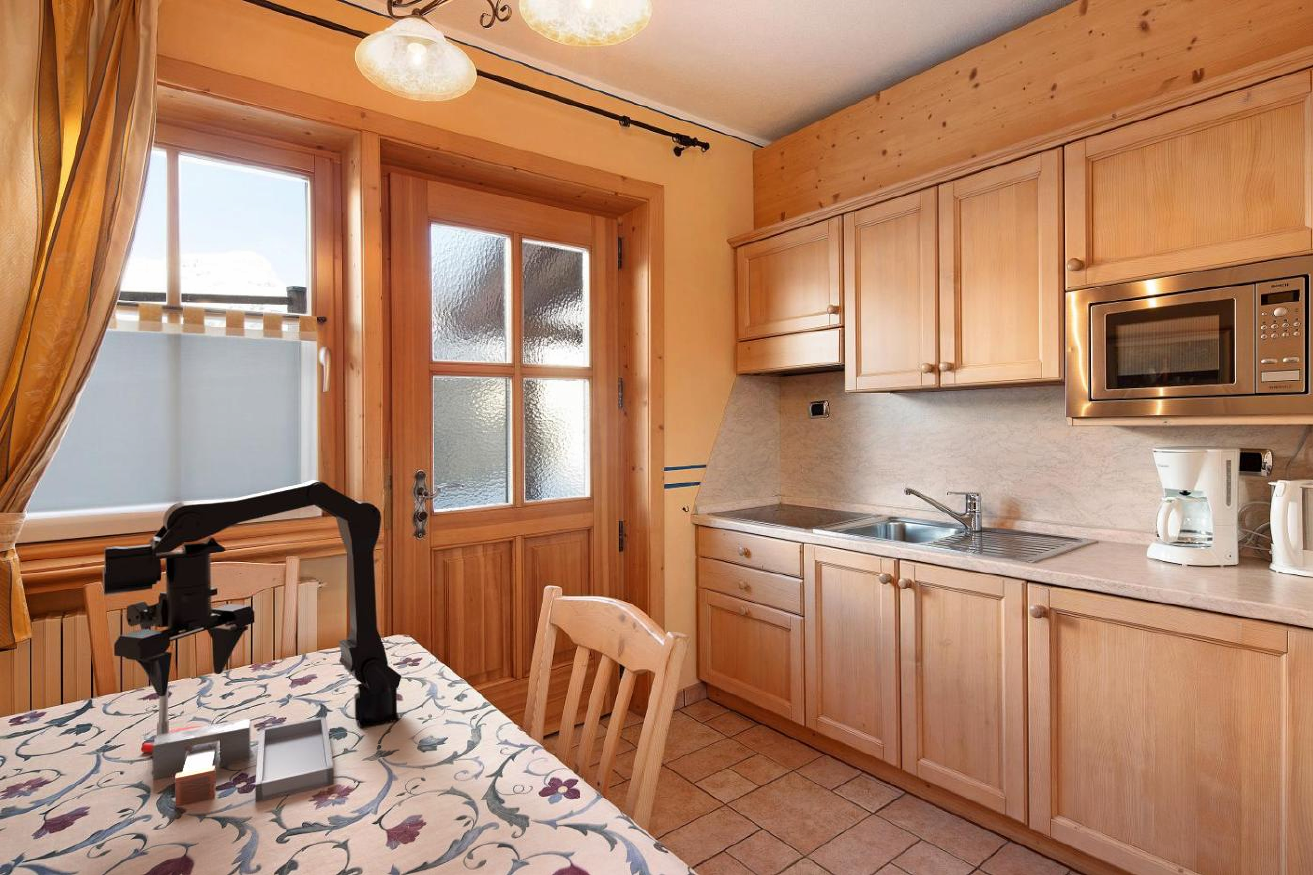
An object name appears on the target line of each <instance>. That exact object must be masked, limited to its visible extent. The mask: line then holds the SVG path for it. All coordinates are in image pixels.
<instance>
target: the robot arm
mask: <svg viewBox="0 0 1313 875" xmlns="http://www.w3.org/2000/svg"><path fill="white" fill-rule="evenodd" d="M312 506H316V507H317V508H319V509H320V510H322V511H324V512H325V513H327V514H329V515H331V516H332V517H334V518H336V524H337V528H338V531H339V536H340V538H341V541H342V543H343V546H344V548H345V552H346V558H347V559H346V560H347V580H348V585H347V586H348V601H349V604H348V605H349V620H350V621H349V622H350V623H349V624H350V626H349V629H350V630H349V633H348V636H347V639H340V640H339V641H338V645H339V648H340V658H339V661H338V662H339V663H340V664H341V665H342V666H343V667H344V669H345V670H346V672H347V673H348V674H349V675H350V676H352V677H353V678H354V679H355V680H356V681H357V682H359V683H358V684H357V692H356V693H354V696H353V698H354V700H353V701H354V703H353V704H354V718H355V721H356V722H358V726H359V728H366V727H372V726H375V725H381V724H387V723H391V722H396V721H399V719H400V718H399V714H398V701H397V698H398V696H397V692H398V691H397V689H398V688H399V685H400V684H401V680H402V675H401V674H399V673H398V672H397V671H396V670H394V669H393V668H392V667H391V666H389V662H388V656H387V652H386V649H385V646H384V642H383V640H382V638H381V635H380V632H379V630H378V618H377V617H378V615H377V596H376V595H377V594H376V575H375V574H376V573H375V571H376V570H375V553H374V552H375V548H376V545H377V542H378V540H379V537H380V531H381V524H382V523H381V522H382V515H381V511H380V509H379V508H378V507H377V506H375V505H374V504H372V503H369V502H366V501H362V500H359V499H352V498H351V497H349V496H347V495H345V494H343V493H341V492H339V491H337V490H336V489H334V488H332V487H330V486H329V485H328V484H327V483H326V482H323V481H320V480H316V479H315V480H309V481H306V482H304V483H301V484H295V485H291V486H290V485H289V486H286V487H280V488H276V489H272V490H268V491H262V492H258V493H253V494H249V495H243V496H241V497H240V496H239V497H234V498H228V499H202V500H199V499H198V500H186V501H185V500H183V501H179V502H176V503H174V504H172V505H171V506H170V507H169V508H168V509H167V510H166V511H165V513H164V515H163V518H162V521H163V525H162V526H161V527H160V528H159V529H158V531H157V532H156V533H155V534H154V535H153V536H152V538H151V539H150V541H148V544H142V545H141V544H140V545H131V546H117V545H116V546H106V547H104V561H103V562H104V567H102V583H103V584H102V586H103V588H102V589H103V596H107V595H108V596H109V595H117V594H124V593H125V594H126V593H131V592H139V591H146V590H152V589H153V586H154V585H157V584H158V582H161V581H162V560H165V591H163V592H159V595H158V602H157V603H153V604H151V605H148V604H147V602H146V601H140V602H136V603H133V604H130V605H127V606H126V617H125V618H126V622H127V624H128V626H130V627H135V626H138V625H139V626H140V629H139V630H134V631H131V632H127V633H124V634H121V635H118V637H117V638H116V640H115V641H114V644H113V645H114V646H113V649H114V650H113V651H114V652H113V653H114V654H113V655H114V656H115V657H121V658H124V659H126V660H131V661H135V662H137V663H138V664H139V665H140V667H142V669H143V670H144V672H145V674H146V675H147V677H148V679H149V681H150V683H151V685H152V687H153V689H154V691H155V693H156V695H157V696H158V697H159V696H162V697H163V696H165V695H166V691H167V687H169V681H170V680H169V677H170V671H171V664H172V663H171V662H172V652H171V651H167V650H168V649H169V648H170V647H171V642H173V641H176V640H179V639H182V638H186V637H188V636H189V637H190V636H192V635H194V634H199V633H201V632H204V631H207V633H208V634H209V637H211V641H212V645H211V646H212V664H213V666H212V667H213V672H214V674H216V675H220V674H222V673H223V671H224V669H225V667H226V665H227V663H228V661H229V659H230V657H231V655H232V653H233V651H234V649H235V647H236V646H237V644H238V642H239V641H240V639H241V638H242V636H243V635H244V632H246V631H248V630H249V626H248V625H251V624H254V623H255V618H256V615H255V611H254V610H253V607H251V606H250V605H245V604H244V605H243V604H237V603H236V604H235V603H228V604H223V605H221V606H217V607H214V608H213V607H212V597H213V596H217V595H218V588H217V587H212V568H211V566H212V564H211V562H212V561H211V554H219V553H224V552H226V548H225V547H224V546H223V545H222V544H220V543H218V541H217V540H216V539H215V538H214V537H213V535H215V534H218V533H220V532H222V531H225V530H226V529H229V528H230V527H233V526H235V525H237V524H241V523H244V522H248V521H251V520H256V519H261V518H264V517H268V516H273V515H277V514H282V513H286V512H290V511H295V510H299V509H303V508H307V507H312ZM205 538H206V540H204V541H203V542H199V541H201V540H203V539H205ZM180 546H182V547H181V549H177V548H179V547H180ZM176 549H177V550H176ZM154 626H155V628H166V629H163V630H159V629H158V630H157V629H150V628H152V627H154Z"/></svg>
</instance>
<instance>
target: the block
mask: <svg viewBox="0 0 1313 875" xmlns="http://www.w3.org/2000/svg"><path fill="white" fill-rule="evenodd" d="M202 726H203V725H202ZM169 732H170V731H169ZM251 737H252V736H251V717H248V718H247V717H246V718H242V719H238V720H237V719H236V720H232V721H226V722H221V723H215V724H209V725H204V726H203V727H198V728H192V729H187V730H181V731H176V732H170V733H165V734H159V735H157V734H156V736H155V741H154V743H153V753H152V779H153V781H154V780H159V779H164V778H167V777H174V776H176V773H181V772H183V769H184V766H185V762H186V759H187V755H188V752H189V749H188V747H189V746H195V745H200V744H205V743H210V742H215V741H218V742H219V766H226V765H231V764H236V763H237V764H238V763H241V762H246V761H250V758H251V751H252V750H251V749H252V748H251V747H252V746H251V744H252V742H251V741H252V740H251Z"/></svg>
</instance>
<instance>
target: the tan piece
mask: <svg viewBox="0 0 1313 875" xmlns="http://www.w3.org/2000/svg"><path fill="white" fill-rule="evenodd" d="M219 756H220V749H219V741H215V742H210V743H205V744H200V745H195V746H190V748H189V749H188V755H187V759H186V762H185V766H184V769H183V772H181V773H176V775H175V777H174V798H175V801H174V802H175V806H174V807H175V808H180V807H183V806H188V805H193V804H198V803H201V802H206V801H210V800H214V799H215V798H216V770H217V765H218V760H219Z"/></svg>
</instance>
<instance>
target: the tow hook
mask: <svg viewBox="0 0 1313 875" xmlns="http://www.w3.org/2000/svg"><path fill="white" fill-rule="evenodd" d="M158 697H159V698H158V700H159V702H158V705H159V706H158V722H157V724H156V736H157V735H159V734H165V733H170V732H176V731H181V730H187V729H192V728H198V727H203V725H202V726H201V725H199V726H198V725H197V726H196V725H195V726H187V727H182V728H177V729H174V730H170V720H169V719H168V718H169V714H168V713H169V686H168V687H167V691H166V695H165V696H163V697H162V696H158ZM155 738H156V737H155ZM155 738H153V739H152V742H144V743H143V744H142V745H141V748H140V751H141V752H142V753H149V754H153V743H154V741H155ZM189 748H190V746H189V747H188V750H189Z"/></svg>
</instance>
